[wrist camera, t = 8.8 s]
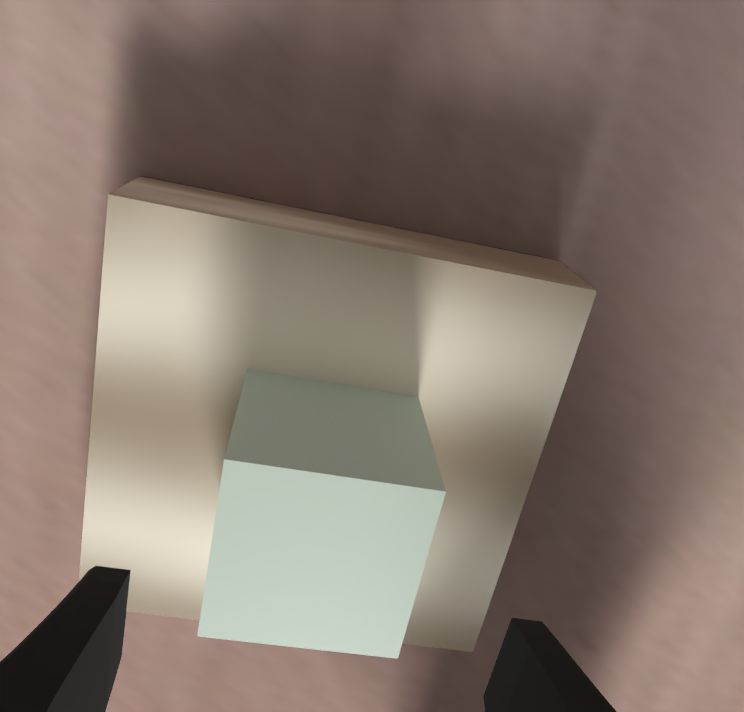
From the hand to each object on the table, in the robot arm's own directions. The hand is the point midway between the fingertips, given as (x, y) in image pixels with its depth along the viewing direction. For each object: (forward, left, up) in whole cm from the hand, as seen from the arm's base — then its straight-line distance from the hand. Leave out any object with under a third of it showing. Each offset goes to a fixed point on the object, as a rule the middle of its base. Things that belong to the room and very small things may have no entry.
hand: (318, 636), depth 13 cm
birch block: (0, 0, -9) cm, 9 cm away
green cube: (0, 0, -6) cm, 6 cm away
